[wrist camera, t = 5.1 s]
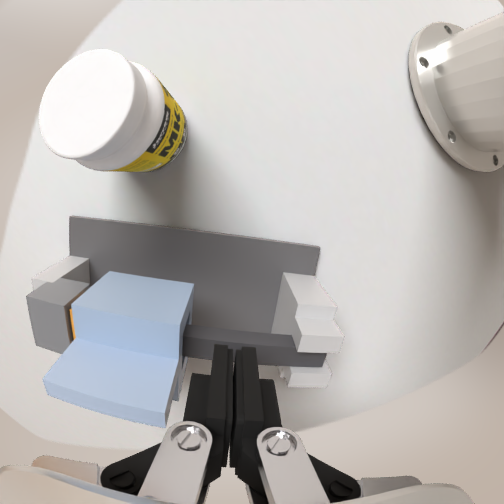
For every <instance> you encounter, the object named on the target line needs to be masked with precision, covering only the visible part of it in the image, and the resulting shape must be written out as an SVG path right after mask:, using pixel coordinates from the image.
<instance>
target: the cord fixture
mask: <svg viewBox="0 0 504 504" xmlns="http://www.w3.org/2000/svg"><path fill="white" fill-rule="evenodd" d="M69 247H70V256H68V257H66V258H64V259H63V260H61V261H59V262H57V263H56V264H54V265H52V266H50V267H49V268H47V269H45V270H44V271H42V272H40V273H39V274H37V275H35V276H34V277H32V286H33V292H31V293H30V294H28V295H27V296H26V298H27V304H28V310H29V315H30V320H31V325H32V330H33V334H34V339H35V343H36V346H39V347H42V348H45V349H48V350H51V351H54V352H57V353H60V354H63V353H64V351H65V350H66V349H67V348H68V347H69V345H70V344H71V343H72V342H73V341H74V339H75V338H76V336H75V329H74V322H73V315H72V307H71V304H72V303H73V302H74V301H75V300H77V299H78V298H79V297H80V296H81V295H82V294H83V293H84V292H86V291H87V290H88V289H89V288H90V287H91V286H93V285H94V284H95V283H96V282H97V281H98V280H100V279H101V278H102V277H103V276H104V275H105V274H107V273H108V272H109V271H112V272H119V273H125V274H131V275H137V276H144V277H151V278H157V279H164V280H171V281H178V282H186V283H193V284H194V294H193V307H192V322H191V324H186V326H185V329H184V332H183V345H182V356H185V357H192V358H200V359H208V360H213V352H214V344H222V345H228V349H233V362H235V354H236V349H238V350H241V348H242V346H245V347H255V348H256V354H257V363H258V365H273V366H278V370H279V375H280V378H285V379H286V383H287V387H299V388H325V387H327V386H328V383H329V381H330V378H331V375H332V372H331V370H330V368H329V366H328V364H327V362H326V359H325V357H326V354H327V353H340V350H341V347H342V344H343V341H344V338H345V336H344V334H343V333H342V331H341V330H340V328H339V327H338V325H337V324H336V322H335V321H334V319H335V315H336V312H337V308H338V307H337V305H336V304H335V303H334V301H333V300H332V299H331V297H330V296H329V295H328V293H327V292H326V291H325V289H324V288H323V287H322V285H321V284H320V283H319V281H318V280H317V279H316V277H315V276H314V275H315V271H316V266H317V261H318V256H319V251H320V247H319V246H314V245H307V244H299V243H292V242H285V241H277V240H270V239H262V238H255V237H247V236H240V235H232V234H224V233H216V232H208V231H200V230H192V229H184V228H176V227H168V226H159V225H151V224H142V223H134V222H125V221H116V220H107V219H98V218H89V217H79V216H70V218H69Z"/></svg>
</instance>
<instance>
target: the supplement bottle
mask: <svg viewBox="0 0 504 504" xmlns="http://www.w3.org/2000/svg"><path fill="white" fill-rule="evenodd" d="M39 127H40V132H41V135H42V138H43V140H44V142H45V144H46V145H47V146H48V147H49V149H50V150H51V151H52V152H54V153H55V154H57V155H59V156H60V157H63V158H67V159H74V160H76V161H77V162H78V163H80V164H81V165H83V166H85V167H87V168H90V169H93V170H97V171H125V172H151V171H155V170H158V169H161V168H163V167H165V166H166V165H168V164H169V163H171V162H172V161H173V160H174V159H175V158H176V157H177V156H178V154H179V153H180V151H181V150H182V148H183V146H184V144H185V141H186V137H187V122H186V118H185V115H184V113H183V111H182V109H181V107H180V106H179V105H178V104H177V102H176V101H175V100H174V98H173V97H172V96H171V95H170V93H169V92H168V91H167V89H166V88H165V87H164V86H163V85H162V84H161V82H160V81H159V80H158V78H157V77H156V76H155V75H154V74H153V73H152V72H151V71H150V70H148V69H147V68H146V67H144V66H142V65H140V64H137V63H135V62H130V61H128V60H127V59H126V58H125V57H123V56H122V55H120V54H119V53H117V52H114V51H111V50H105V49H97V50H91V51H87V52H85V53H82V54H80V55H78V56H76V57H74V58H73V59H71V60H70V61H69V62H67V63H66V64H65V65H64V66H63V67H61V69H60V70H59V71H58V72H57V73H56V74H55V75H54V77H53V78H52V80H51V81H50V83H49V84H48V86H47V88H46V90H45V93H44V95H43V98H42V101H41V104H40V110H39Z"/></svg>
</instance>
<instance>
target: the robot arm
mask: <svg viewBox="0 0 504 504" xmlns="http://www.w3.org/2000/svg"><path fill="white" fill-rule="evenodd" d="M409 72H410V80H411V84H412V88H413V91H414V95H415V98H416V101H417V103H418V106H419V109H420V111H421V113H422V115H423V117H424V119H425V121H426V123H427V125H428V127H429V129H430V131H431V132H432V134H433V135H434V137H435V138H436V140H437V142H438V143H439V144H440V145H441V146H442V148H443V149H444V150H445V151H446V152H447V154H449V155H450V156H451V157H452V158H453V159H454V160H455V161H456V162H457V163H459V164H461V165H462V166H464V167H466V168H468V169H471V170H474V171H481V172H491V171H495V170H497V169H499V168H501V167H502V166H503V165H504V12H502V13H500V14H498V15H495V16H493V17H491V18H488V19H486V20H484V21H482V22H479V23H477V24H475V25H473V26H471V27H469V28H466V29H463V28H461V27H459V26H456V25H454V24H451V23H446V22H435V23H431V24H429V25H427V26H425V27H424V28H422V29H421V30H420V31H419V32H417V33H416V35H415V37H414V38H413V40H412V42H411V46H410V50H409ZM229 443H230V467H233V468H235V475H238V478H239V479H241V480H242V481H243V482H245V483H246V490H247V495H248V498H249V502H250V504H475V503H474V502H473V500H472V499H471V498H470V497H469V495H468V494H467V493H466V492H465V491H464V490H462V489H461V488H460V487H458V486H455V485H451V484H440V483H433V484H422V483H421V482H420V481H419V480H418V479H417V478H415V477H412V476H399V477H381V478H362V479H361V480H355V479H353V478H352V477H350V476H348V475H346V474H344V473H343V472H341V471H339V470H337V469H335V468H333V467H331V466H329V465H327V464H325V463H324V462H322V461H320V460H318V459H316V458H315V457H313V456H311V455H309V454H308V453H307V452H306V450H305V447H304V446H303V443H302V441H301V439H300V438H299V436H298V435H297V434H296V433H295V432H294V431H292V430H289V429H287V428H283V427H282V424H281V418H280V413H279V407H278V402H277V396H276V390H275V385H274V381H273V380H271V379H259V372H258V363H257V354H256V348H255V347H245V346H242V348H241V350H238V349H236V354H235V363H234V371H233V349H228V345H222V344H214V352H213V361H212V370H211V375H204V374H195V373H192V376H191V381H190V387H189V392H188V397H187V402H186V408H185V413H184V418H183V422H179V423H176V424H174V425H172V426H171V427H170V428H169V429H168V430H167V432H166V434H165V436H164V438H163V441H162V442H161V443H159V444H157V445H155V446H153V447H151V448H148V449H146V450H144V451H142V452H139V453H137V454H135V455H132V456H130V457H128V458H125V459H123V460H121V461H118V462H115V463H113V464H111V465H109V466H107V467H101V466H98V464H95V463H87V462H81V461H74V460H68V459H63V458H58V457H53V456H44V455H43V456H40V457H38V458H36V459H35V460H34V461H33V463H32V466H26V465H8V466H3V467H1V468H0V504H205V502H206V498H207V494H208V491H209V487H210V483H211V482H212V481H214V480H215V479H217V478H218V477H220V476H221V467H226V465H227V457H228V450H229Z"/></svg>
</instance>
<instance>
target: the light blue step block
mask: <svg viewBox="0 0 504 504" xmlns="http://www.w3.org/2000/svg"><path fill="white" fill-rule="evenodd" d="M193 294H194V284H193V283H186V282H178V281H171V280H164V279H157V278H151V277H144V276H137V275H131V274H125V273H119V272H112V271H109V272H108V273H107V274H105V275H104V276H103V277H102V278H101V279H100V280H98V281H97V282H96V283H95V284H94V285H93V286H91V287H90V288H89V289H88V290H87V291H86V292H84V293H83V294H82V295H81V296H80V297H79V298H78V299H77V300H75V301H74V302H73V303H72V304H71V307H72V315H73V322H74V329H75V336H76V338H75V339H74V341H73V342H72V343H71V344H70V345H69V347H68V348H67V349H66V350H65V351H64V353H63V354H62V355H61V356H60V357H59V359H58V360H57V361H56V362H55V364H54V365H53V366H52V367H51V369H50V370H49V371H48V372H47V374H46V375H45V376H44V377H43V382H44V385H45V388H46V391H47V394H48V395H49V396H52V397H54V398H57V399H60V400H62V401H65V402H68V403H71V404H74V405H77V406H80V407H83V408H86V409H89V410H92V411H95V412H99V413H102V414H106V415H109V416H113V417H117V418H121V419H124V420H129V421H133V422H137V423H142V424H146V425H151V426H156V427H162V428H166V425H167V420H168V416H169V412H170V407H171V403H172V400H175V401H179V396H180V392H181V387H182V382H183V378H184V373H185V369H186V365H187V360H188V357H185V356H182V345H183V332H184V329H185V326H186V324H191V322H192V307H193Z"/></svg>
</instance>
